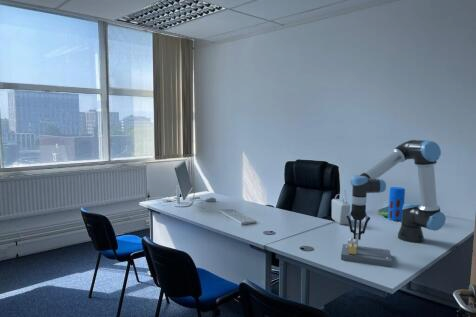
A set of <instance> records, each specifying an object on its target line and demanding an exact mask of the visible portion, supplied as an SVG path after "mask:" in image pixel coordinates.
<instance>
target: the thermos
mask: <svg viewBox="0 0 476 317" xmlns="http://www.w3.org/2000/svg"><path fill="white" fill-rule="evenodd" d="M405 195H406V188H404V187H401V186H400V187H399V186H398V187H397V186H390V188H389V196H388V197H389V199H388V211H387V217H388V218H387V219H388V220H389V221H392V220H393V222H402V209H403V205H404V204H405V197H406V196H405Z"/></svg>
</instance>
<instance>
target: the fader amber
mask: <svg viewBox="0 0 476 317" xmlns="http://www.w3.org/2000/svg"><path fill="white" fill-rule="evenodd" d="M356 247H357V244H350V243H349V248H348V254H355V255H356Z"/></svg>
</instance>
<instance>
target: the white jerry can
mask: <svg viewBox="0 0 476 317" xmlns="http://www.w3.org/2000/svg"><path fill="white" fill-rule="evenodd" d="M343 192H344V196H345V200H344V198H343V196H342V194H339V193H338V194H336V195H335V197H334V198H332V199H331V220H334V221H335V222H336V223H337V224H338V225H341V226H342V225H343V226H344V225H346V226H347V225H349V222H348V219H347V217H346V216H347V214H350V213H351V205H350V204H349V203H348V200H347V193H346V190H345V189H344V190H343ZM338 195H339V196H340V198H341V199H340V198H337V197H338Z"/></svg>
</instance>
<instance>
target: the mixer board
mask: <svg viewBox="0 0 476 317" xmlns="http://www.w3.org/2000/svg"><path fill="white" fill-rule="evenodd" d="M340 260H341V261H348V262H354V263H360V264H361V263H362V264H368V265H377V266H385V267H390V268H393V259H392V254H391V250H390V249H385V248H384V249H383V248H377V247H370V246H361V245H358V246H357V247H356V255H355V254H348V243H346V244H345V243H342V249H341V253H340Z"/></svg>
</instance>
